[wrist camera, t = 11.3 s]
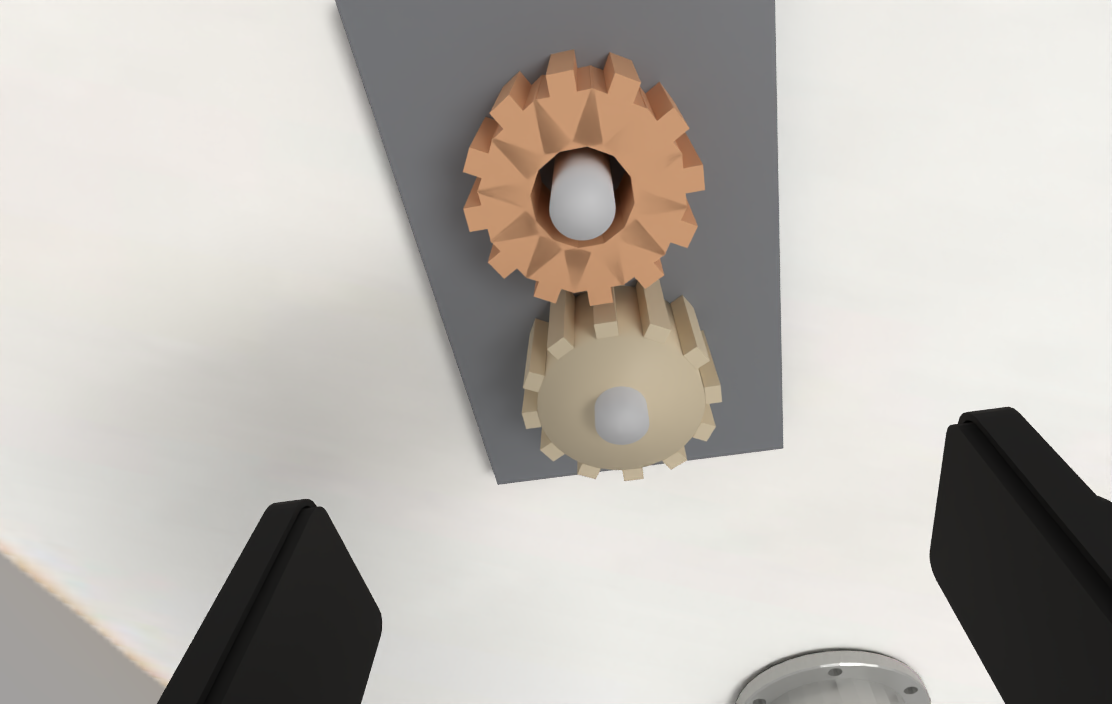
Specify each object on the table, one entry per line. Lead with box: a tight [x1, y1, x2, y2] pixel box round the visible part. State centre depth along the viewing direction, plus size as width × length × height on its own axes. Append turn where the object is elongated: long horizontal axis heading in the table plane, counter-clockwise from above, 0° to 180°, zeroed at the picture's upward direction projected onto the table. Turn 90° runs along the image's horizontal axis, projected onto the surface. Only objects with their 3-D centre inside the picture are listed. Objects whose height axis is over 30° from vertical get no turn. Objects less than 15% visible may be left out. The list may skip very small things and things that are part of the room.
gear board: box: [335, 0, 783, 485], centre depth 25 cm, size 22×14×6 cm, turn 11°
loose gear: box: [463, 49, 705, 306], centre depth 22 cm, size 8×8×4 cm
